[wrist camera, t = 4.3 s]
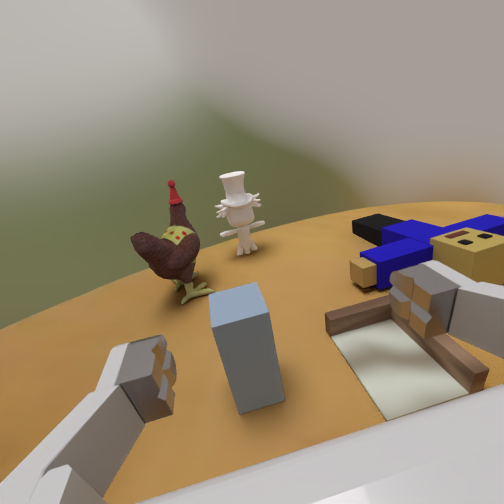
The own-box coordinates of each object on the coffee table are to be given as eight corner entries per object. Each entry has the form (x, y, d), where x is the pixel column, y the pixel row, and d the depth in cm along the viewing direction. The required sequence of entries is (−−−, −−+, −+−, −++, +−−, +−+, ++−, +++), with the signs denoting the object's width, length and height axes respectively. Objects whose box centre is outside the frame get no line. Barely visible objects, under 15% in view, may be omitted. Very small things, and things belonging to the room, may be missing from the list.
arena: (482, 390, 25) (489, 369, 24) (387, 422, 24) (389, 402, 22) (393, 310, 36) (394, 293, 35) (325, 330, 35) (324, 313, 34)
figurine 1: (221, 268, 55) (196, 174, 46) (209, 314, 42) (171, 194, 33) (173, 275, 56) (140, 184, 48) (146, 321, 43) (94, 207, 35)
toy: (421, 193, 61) (583, 215, 36) (419, 221, 63) (570, 260, 39) (303, 225, 56) (396, 275, 32) (307, 254, 59) (395, 321, 34)
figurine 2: (261, 241, 64) (249, 167, 56) (275, 253, 57) (263, 170, 49) (221, 255, 61) (202, 178, 53) (231, 268, 55) (211, 183, 47)
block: (285, 400, 27) (268, 311, 22) (239, 414, 27) (211, 327, 22) (272, 362, 32) (256, 281, 26) (232, 374, 31) (208, 294, 26)
